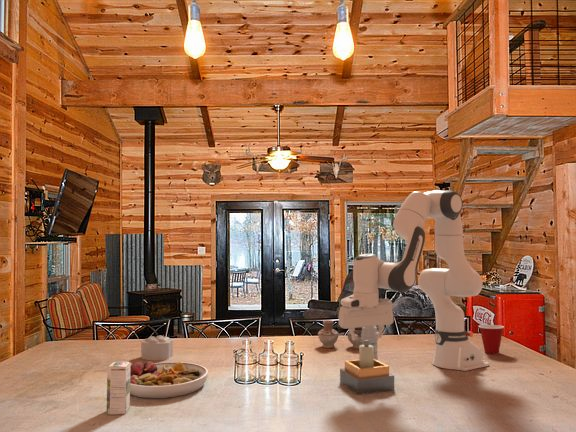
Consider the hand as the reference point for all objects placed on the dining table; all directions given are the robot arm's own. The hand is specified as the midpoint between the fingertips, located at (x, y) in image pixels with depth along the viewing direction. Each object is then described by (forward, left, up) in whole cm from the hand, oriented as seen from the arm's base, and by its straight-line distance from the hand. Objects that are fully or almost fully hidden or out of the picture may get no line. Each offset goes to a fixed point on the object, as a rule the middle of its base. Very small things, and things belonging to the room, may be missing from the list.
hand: (366, 338), depth 179 cm
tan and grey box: (0, 0, -17) cm, 17 cm away
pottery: (-18, -55, -17) cm, 61 cm away
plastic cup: (-75, -24, -17) cm, 80 cm away
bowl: (+68, -24, -17) cm, 74 cm away
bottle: (-11, -18, -17) cm, 27 cm away
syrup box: (+83, -4, -17) cm, 85 cm away
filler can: (0, 0, -12) cm, 12 cm away
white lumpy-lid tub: (+67, -67, -17) cm, 96 cm away
